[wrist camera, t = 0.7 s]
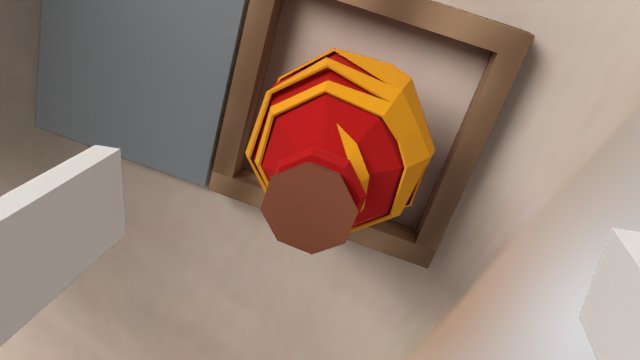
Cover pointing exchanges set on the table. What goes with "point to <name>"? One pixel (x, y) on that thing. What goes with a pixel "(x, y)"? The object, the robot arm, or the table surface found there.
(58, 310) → the table surface
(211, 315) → the table surface
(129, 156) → the coaster
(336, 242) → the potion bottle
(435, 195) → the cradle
